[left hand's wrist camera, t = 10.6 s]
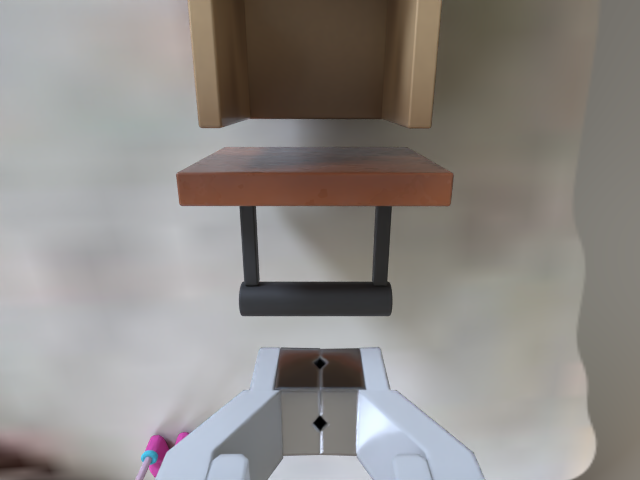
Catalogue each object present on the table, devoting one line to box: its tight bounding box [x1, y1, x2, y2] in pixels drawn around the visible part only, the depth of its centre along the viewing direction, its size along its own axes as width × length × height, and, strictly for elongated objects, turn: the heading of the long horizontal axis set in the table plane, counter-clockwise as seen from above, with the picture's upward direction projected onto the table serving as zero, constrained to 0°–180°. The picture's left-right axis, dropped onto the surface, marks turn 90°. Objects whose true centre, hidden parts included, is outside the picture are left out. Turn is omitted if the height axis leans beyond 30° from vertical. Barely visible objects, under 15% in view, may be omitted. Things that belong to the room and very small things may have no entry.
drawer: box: [176, 0, 454, 316], centre depth 16 cm, size 24×10×8 cm, turn 0°
